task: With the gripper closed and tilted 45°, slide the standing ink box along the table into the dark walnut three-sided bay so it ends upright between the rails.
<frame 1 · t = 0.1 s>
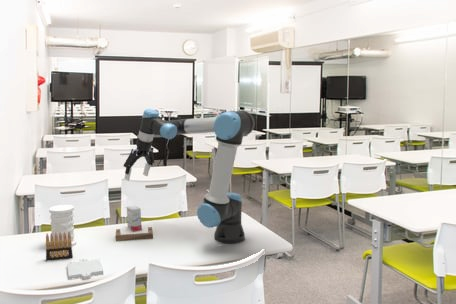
hand: (136, 177, 224), 28 cm above the table, tool tilted 20°, fingers open, 13 cm apart
mounting plate: (84, 271, 176), on the table
walnut bay: (134, 234, 218), on the table
ammunition clip: (59, 259, 187), on the table
ink box: (134, 229, 228), on the table
decorative container: (63, 245, 205), on the table
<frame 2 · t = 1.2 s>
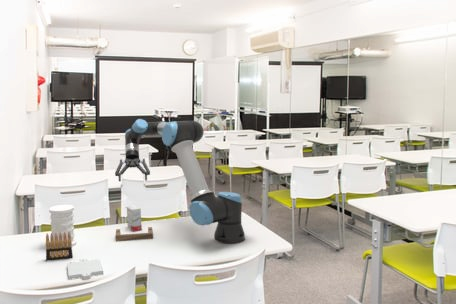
hand: (133, 185, 233), 22 cm above the table, tool tilted 45°, fingers open, 11 cm apart
nothing on the table moved.
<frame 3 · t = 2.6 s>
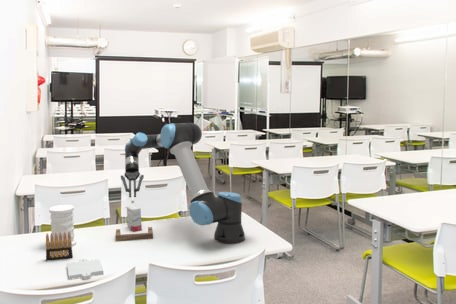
hand: (132, 201, 234), 13 cm above the table, tool tilted 45°, fingers closed
nothing on the table moved.
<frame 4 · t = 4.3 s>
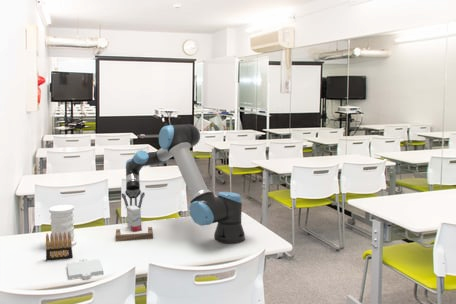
hand: (133, 220, 233), 3 cm above the table, tool tilted 45°, fingers closed
ink box: (134, 229, 228), on the table, touching gripper
everything else where it was.
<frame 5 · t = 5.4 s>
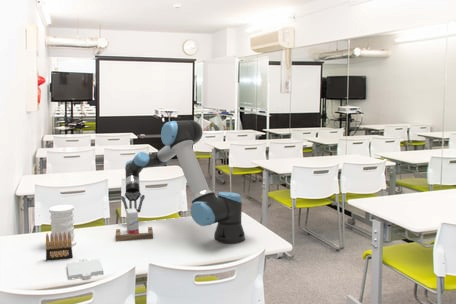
hand: (133, 223, 227), 3 cm above the table, tool tilted 45°, fingers closed
ink box: (132, 233, 222), on the table, touching gripper
everything else where it was.
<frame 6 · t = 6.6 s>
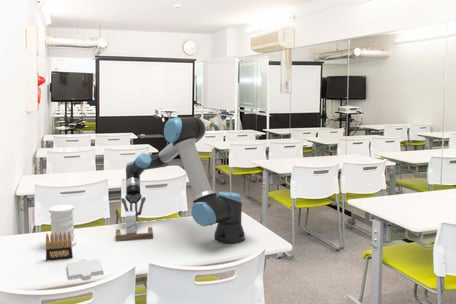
hand: (134, 226, 222), 3 cm above the table, tool tilted 45°, fingers closed
ink box: (131, 236, 217), on the table, touching gripper, walnut bay
everything else where it was.
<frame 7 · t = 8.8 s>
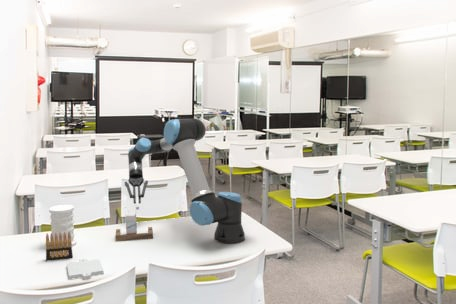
hand: (137, 208, 229), 11 cm above the table, tool tilted 45°, fingers closed
ink box: (131, 236, 217), on the table
everything else where it was.
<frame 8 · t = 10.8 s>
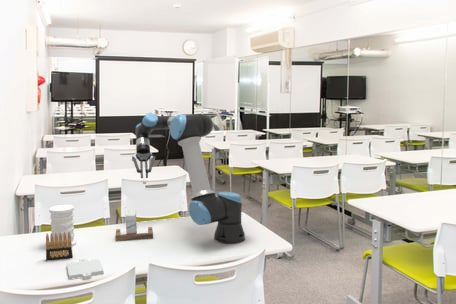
hand: (144, 182, 229), 24 cm above the table, tool tilted 45°, fingers closed
nothing on the table moved.
at the end: ink box inside the target area on the walnut bay (1.6 cm from its centre), point 0.0 cm above the walnut bay's base; ink box tilted 0° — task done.
